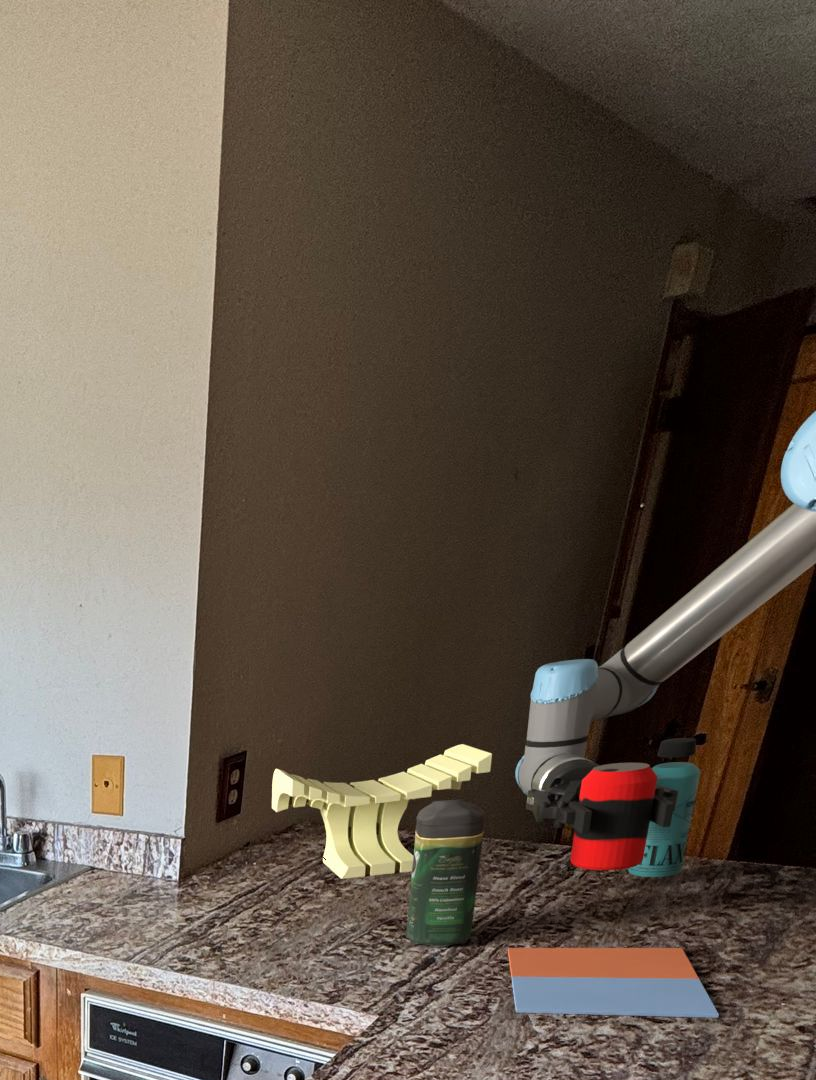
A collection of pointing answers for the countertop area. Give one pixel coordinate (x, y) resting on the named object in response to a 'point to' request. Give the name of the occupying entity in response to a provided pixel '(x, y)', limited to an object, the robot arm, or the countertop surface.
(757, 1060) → the countertop surface
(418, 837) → the coffee jar
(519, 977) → the sorting mat
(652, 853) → the teal pump bottle
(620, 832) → the soda can
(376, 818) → the slatted curved stool
